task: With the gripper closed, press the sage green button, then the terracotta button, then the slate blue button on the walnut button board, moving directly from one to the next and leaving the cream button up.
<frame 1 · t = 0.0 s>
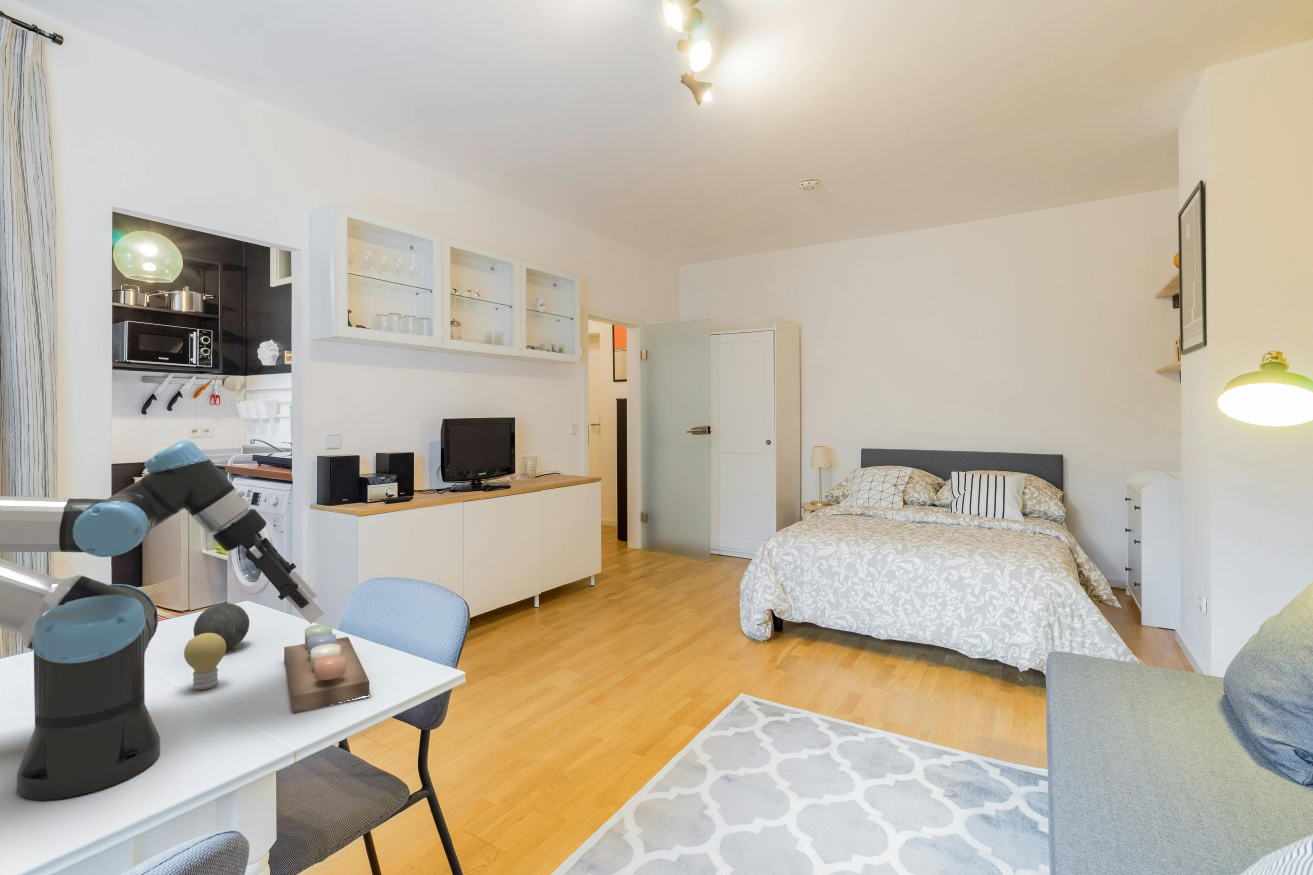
hand: (314, 608, 117), 15 cm above the table, tool tilted 35°, fingers open, 13 cm apart
light bulb: (205, 687, 118), on the table
terracotta button: (329, 667, 114), point 6 cm above the table, slide at 0.0 cm
sage button: (318, 634, 131), point 6 cm above the table, slide at 0.0 cm
decorative ball: (222, 650, 138), on the table
slate button: (322, 644, 126), point 6 cm above the table, slide at 0.0 cm
button board: (323, 678, 123), on the table
cream button: (325, 654, 120), point 6 cm above the table, slide at 0.0 cm
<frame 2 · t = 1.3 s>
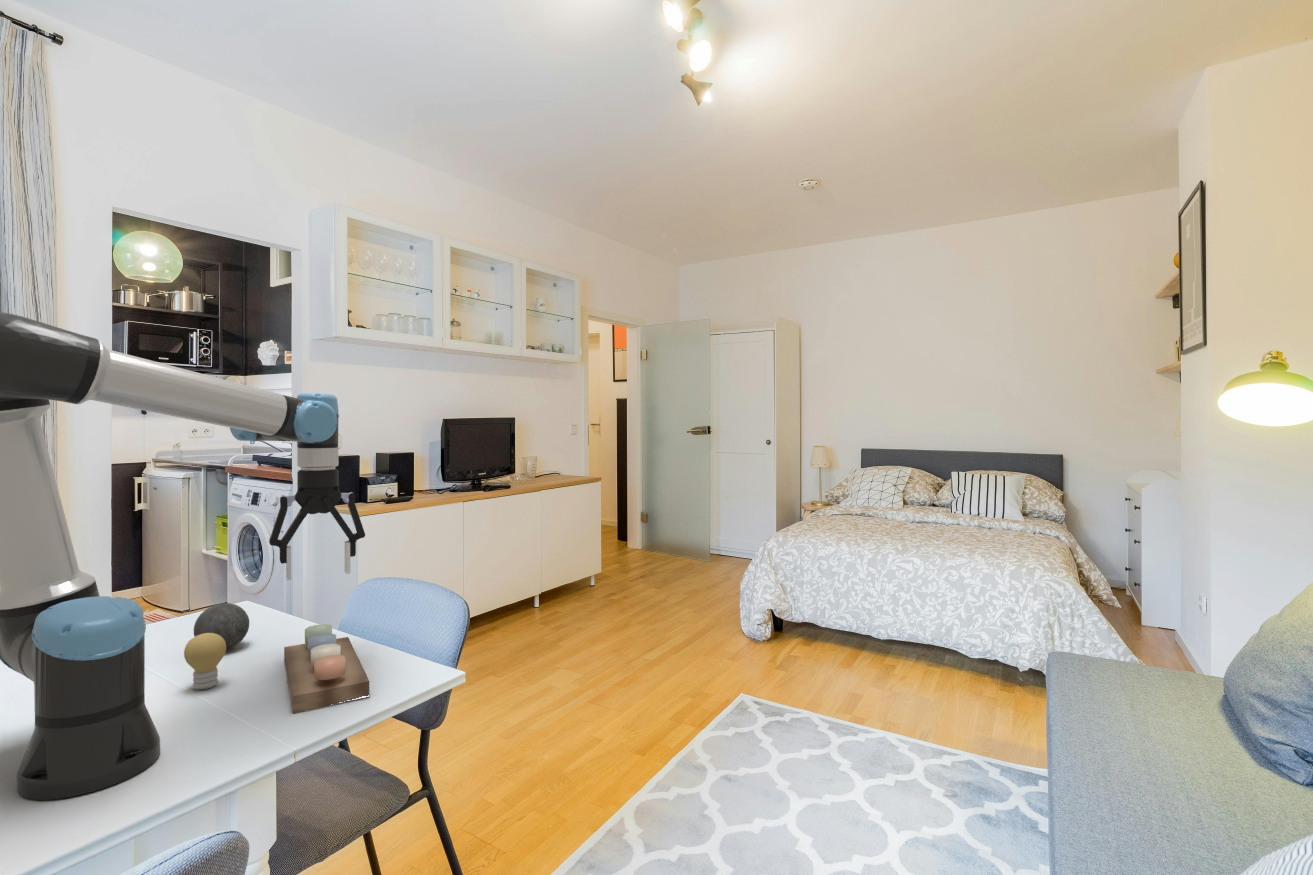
hand: (318, 575, 131), 18 cm above the table, tool pointing down, fingers open, 10 cm apart
nothing on the table moved.
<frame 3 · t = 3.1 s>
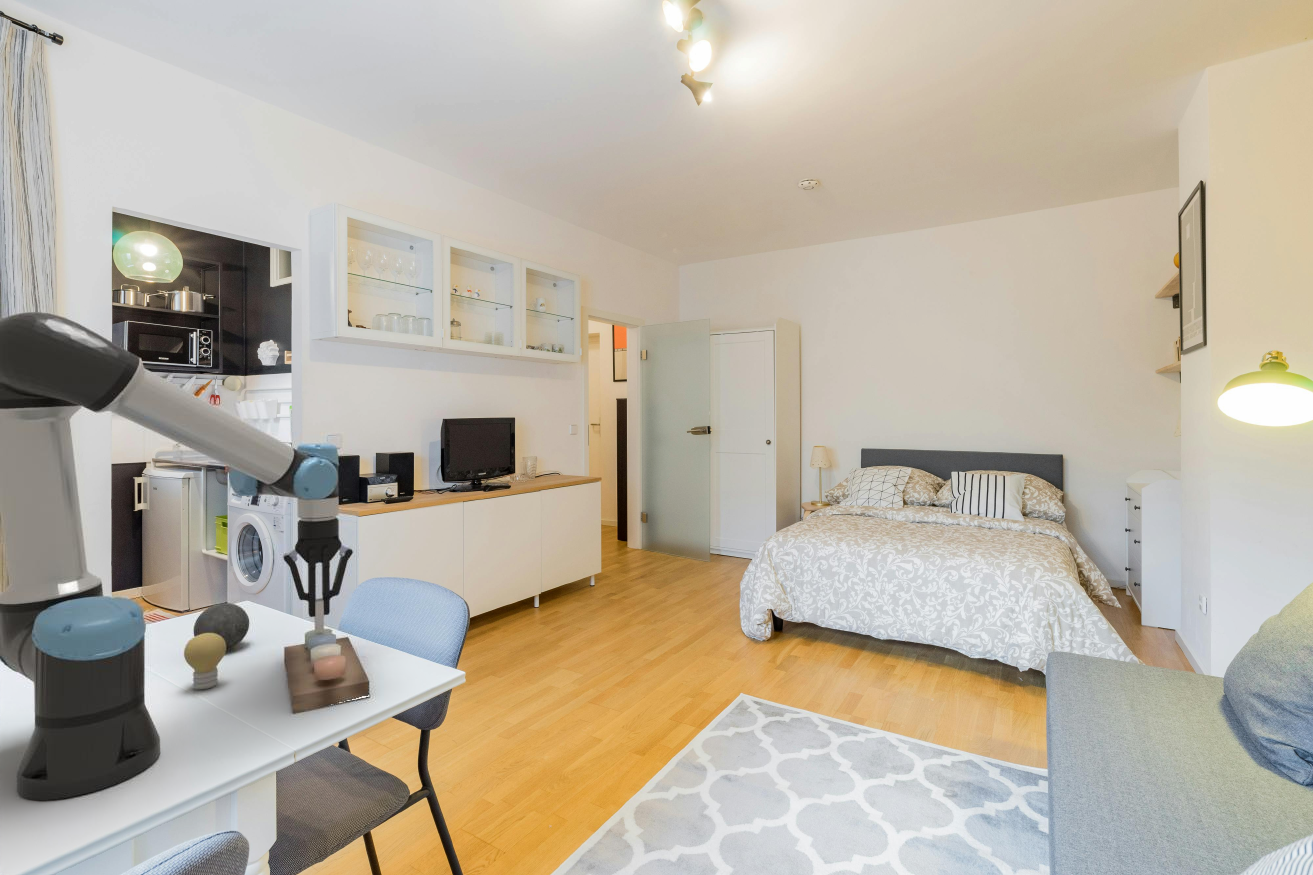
hand: (319, 630, 132), 6 cm above the table, tool pointing down, fingers closed
sage button: (318, 638, 131), point 5 cm above the table, slide at 0.9 cm, touching gripper
everything else where it was.
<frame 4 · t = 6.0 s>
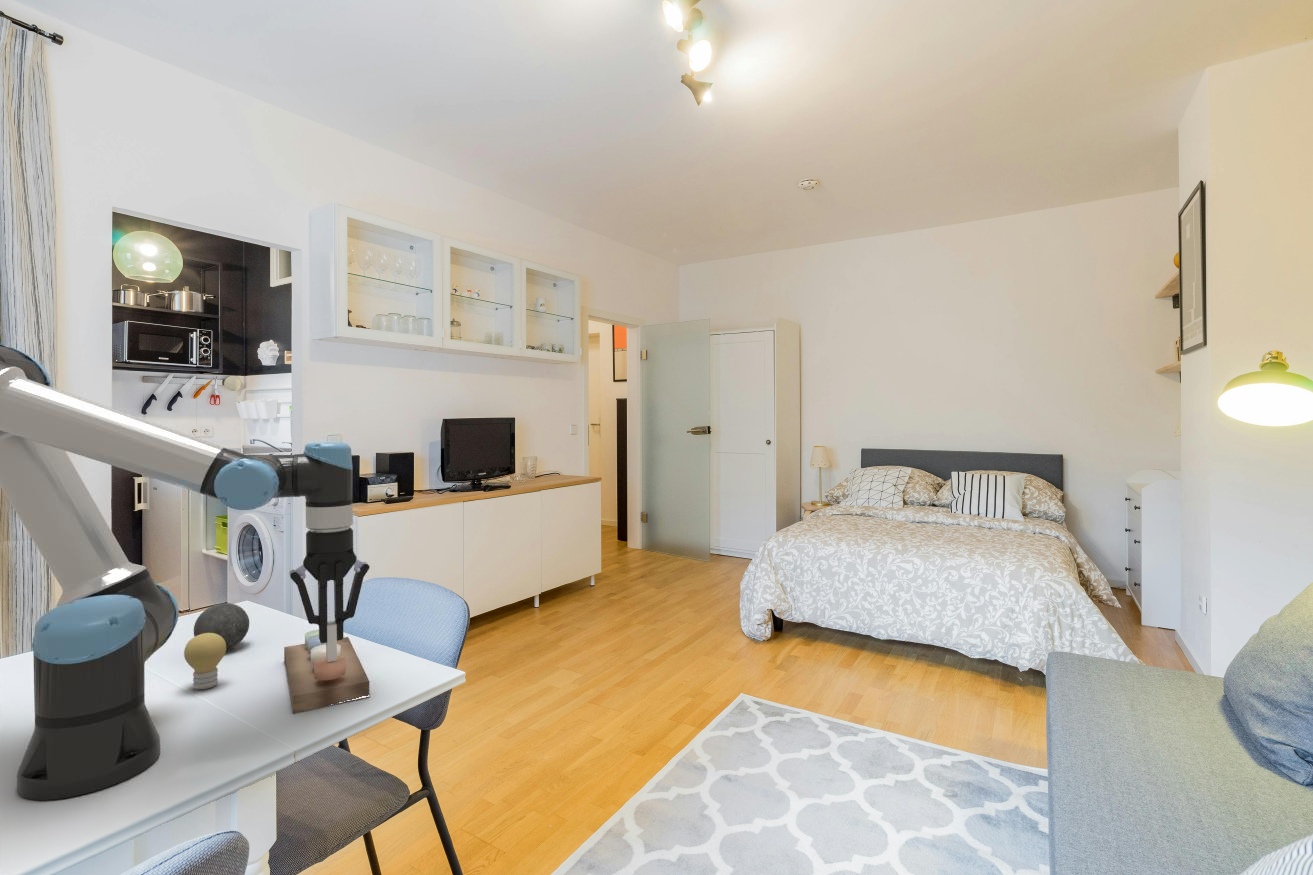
hand: (331, 658, 114), 7 cm above the table, tool pointing down, fingers closed
terracotta button: (329, 667, 114), point 6 cm above the table, slide at 0.1 cm, touching gripper
sage button: (318, 639, 131), point 5 cm above the table, slide at 1.0 cm
everything else where it was.
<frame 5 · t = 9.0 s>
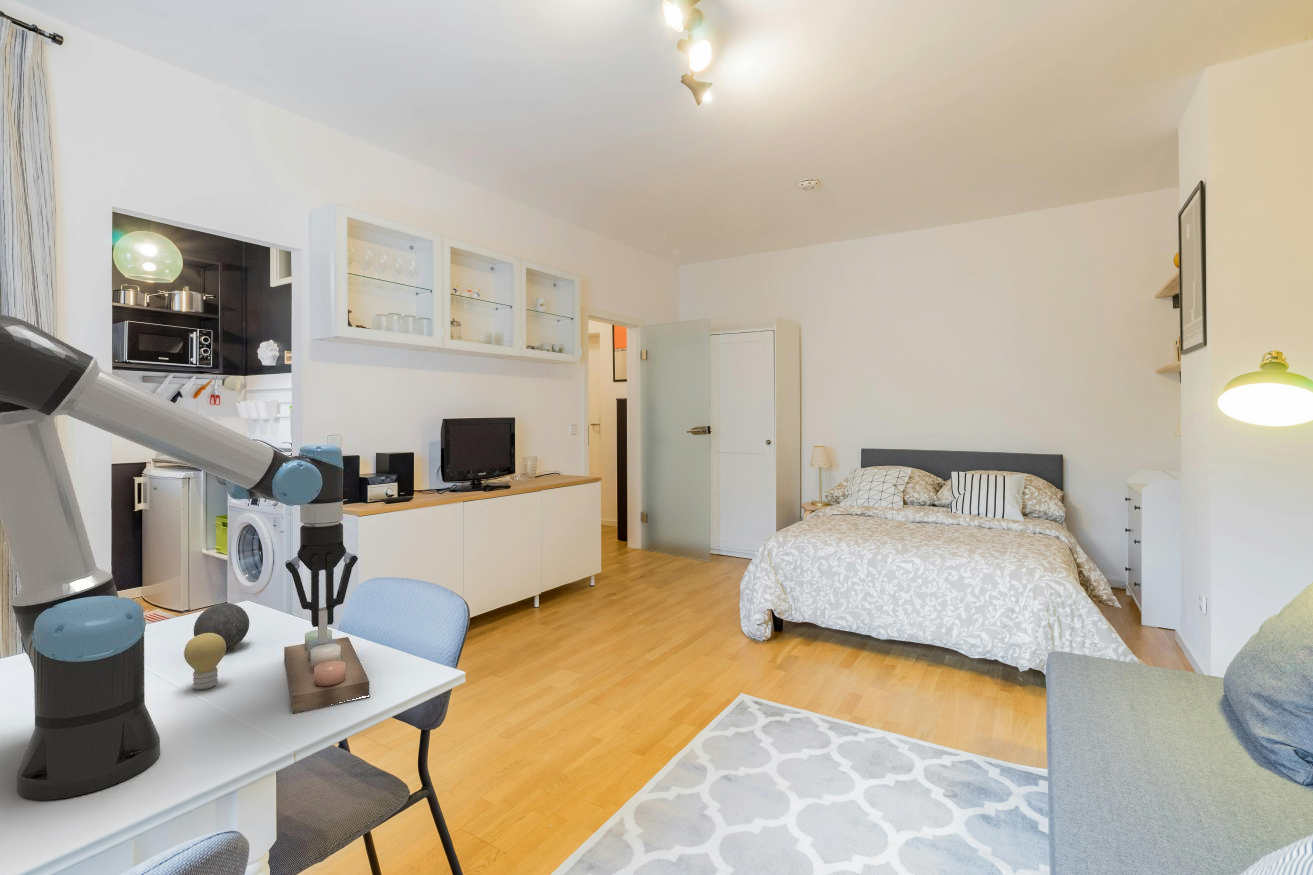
hand: (322, 641, 126), 6 cm above the table, tool pointing down, fingers closed
terracotta button: (329, 672, 114), point 5 cm above the table, slide at 1.0 cm
slate button: (322, 649, 126), point 5 cm above the table, slide at 1.0 cm, touching gripper
everything else where it was.
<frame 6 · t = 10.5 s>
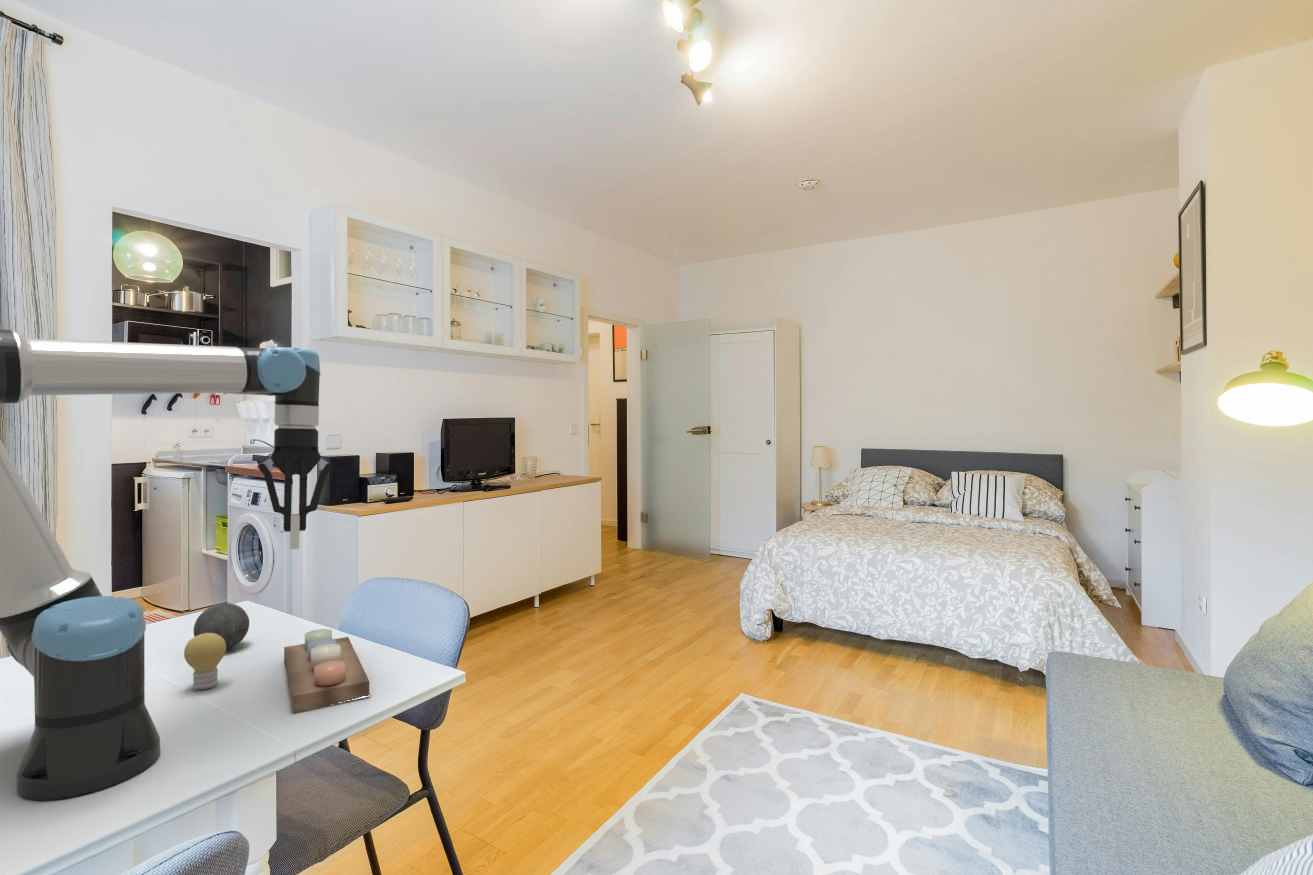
hand: (294, 547, 124), 25 cm above the table, tool pointing down, fingers closed
slate button: (322, 649, 126), point 5 cm above the table, slide at 1.0 cm
everything else where it was.
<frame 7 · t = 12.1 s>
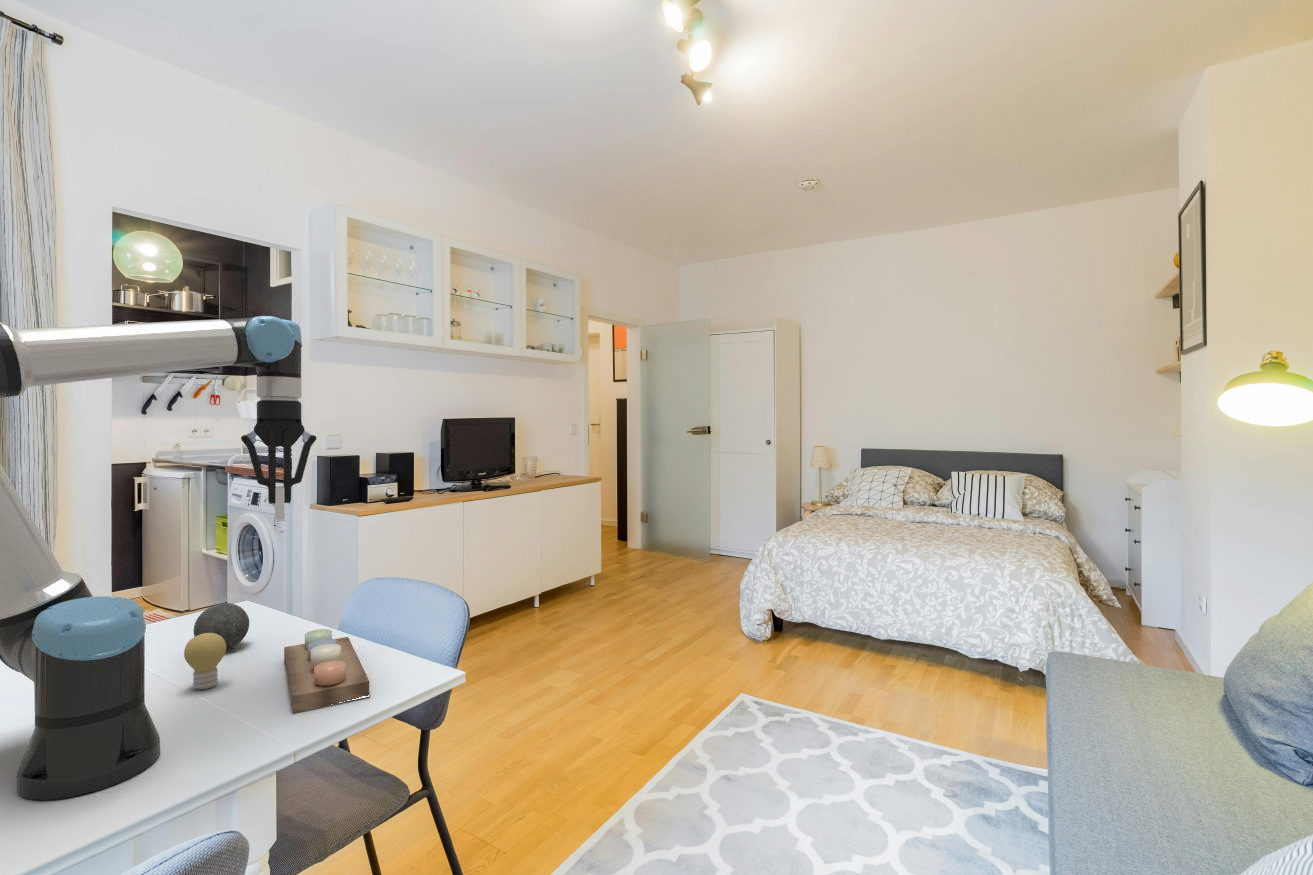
hand: (279, 519, 124), 30 cm above the table, tool pointing down, fingers closed
nothing on the table moved.
at the end: sage button slide at 1.0 cm; terracotta button slide at 1.0 cm; slate button slide at 1.0 cm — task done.
